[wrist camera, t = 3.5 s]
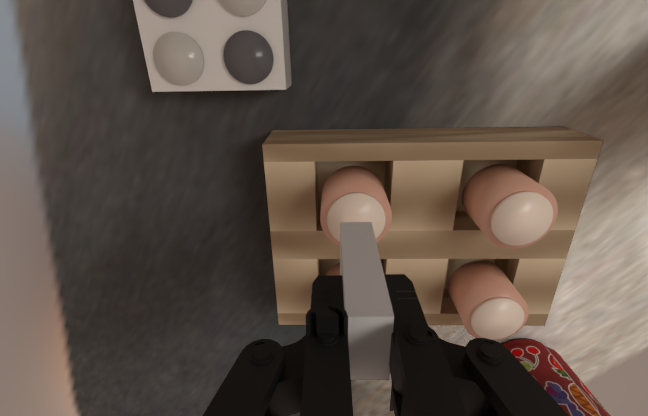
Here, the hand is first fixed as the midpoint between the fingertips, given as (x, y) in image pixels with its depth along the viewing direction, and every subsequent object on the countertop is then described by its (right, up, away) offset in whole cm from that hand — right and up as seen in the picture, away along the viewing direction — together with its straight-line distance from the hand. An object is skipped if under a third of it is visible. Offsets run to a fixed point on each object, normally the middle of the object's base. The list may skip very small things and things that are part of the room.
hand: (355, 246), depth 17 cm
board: (+5, +1, +10) cm, 11 cm away
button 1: (0, +3, +6) cm, 6 cm away
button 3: (+9, +3, +5) cm, 11 cm away
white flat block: (-8, +13, +5) cm, 16 cm away
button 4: (+9, -4, +8) cm, 13 cm away
